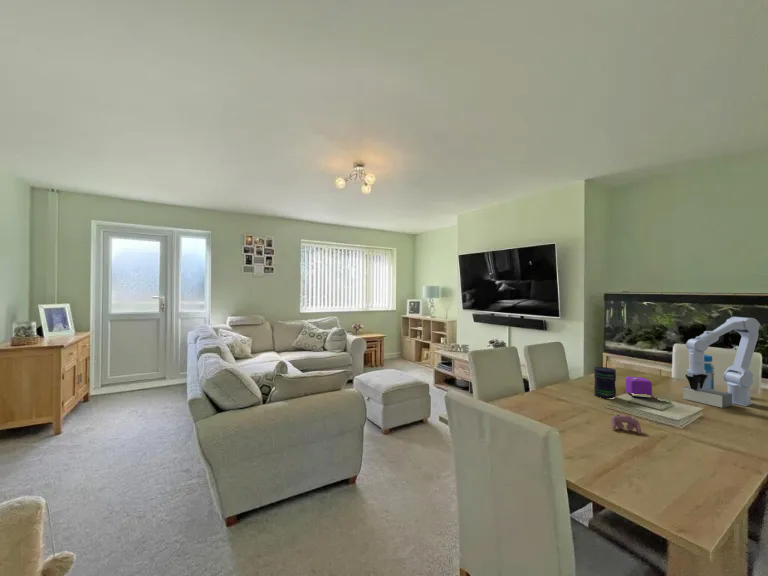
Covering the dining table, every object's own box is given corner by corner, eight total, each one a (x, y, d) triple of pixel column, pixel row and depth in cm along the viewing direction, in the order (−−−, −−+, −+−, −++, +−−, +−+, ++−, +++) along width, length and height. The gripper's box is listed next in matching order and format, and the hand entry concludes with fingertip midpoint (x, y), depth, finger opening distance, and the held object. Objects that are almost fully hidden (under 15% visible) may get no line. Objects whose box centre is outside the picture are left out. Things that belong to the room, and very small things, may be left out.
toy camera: (639, 391, 187) (639, 374, 188) (656, 399, 174) (656, 380, 174) (618, 390, 188) (618, 373, 189) (634, 398, 175) (634, 379, 175)
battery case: (691, 395, 180) (691, 384, 180) (731, 405, 165) (731, 393, 165) (683, 398, 176) (683, 387, 176) (724, 407, 161) (724, 395, 161)
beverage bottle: (701, 391, 187) (701, 356, 188) (690, 387, 196) (690, 353, 196) (718, 392, 186) (718, 357, 186) (706, 388, 194) (706, 354, 194)
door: (684, 398, 175) (684, 380, 175) (724, 407, 161) (724, 388, 161) (682, 398, 174) (682, 380, 174) (722, 408, 160) (722, 388, 160)
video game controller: (639, 435, 134) (637, 417, 137) (642, 434, 130) (640, 415, 133) (610, 431, 138) (609, 413, 141) (612, 430, 134) (611, 412, 137)
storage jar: (620, 399, 173) (620, 371, 173) (601, 399, 173) (601, 371, 173) (607, 393, 183) (607, 366, 183) (590, 393, 183) (590, 366, 183)
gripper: (693, 359, 177) (693, 385, 177) (679, 362, 170) (679, 388, 170) (710, 362, 170) (710, 388, 170) (697, 365, 164) (697, 392, 164)
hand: (696, 388), depth 170 cm, fingers open, 5 cm apart
